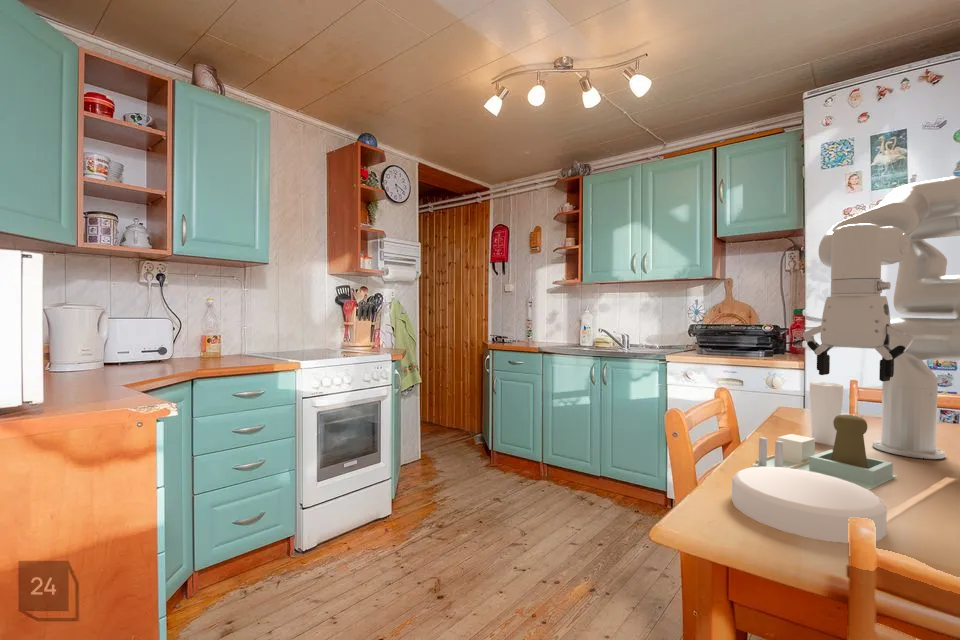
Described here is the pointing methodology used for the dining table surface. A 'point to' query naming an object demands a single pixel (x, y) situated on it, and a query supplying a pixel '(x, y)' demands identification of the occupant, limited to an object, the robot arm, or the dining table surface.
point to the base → (830, 466)
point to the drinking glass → (825, 410)
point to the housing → (797, 448)
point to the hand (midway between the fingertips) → (853, 377)
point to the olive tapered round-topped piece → (850, 440)
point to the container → (805, 502)
